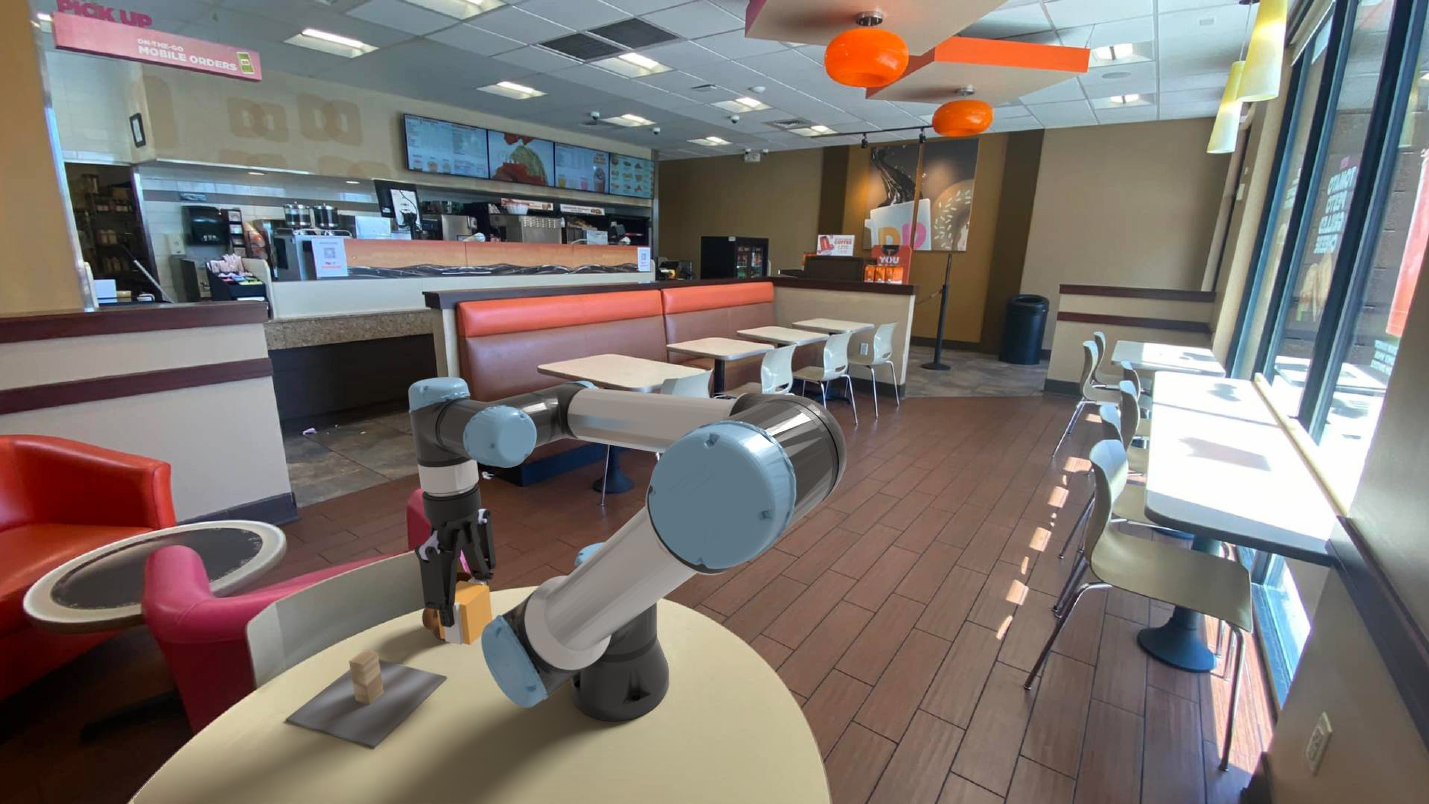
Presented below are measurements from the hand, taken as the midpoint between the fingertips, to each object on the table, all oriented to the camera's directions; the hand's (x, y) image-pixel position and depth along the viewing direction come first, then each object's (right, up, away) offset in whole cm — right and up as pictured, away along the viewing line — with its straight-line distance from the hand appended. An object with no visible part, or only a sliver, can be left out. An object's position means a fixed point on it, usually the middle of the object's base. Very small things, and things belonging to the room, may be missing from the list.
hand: (468, 629), depth 89 cm
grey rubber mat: (-15, -11, 0) cm, 18 cm away
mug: (-9, -7, +15) cm, 19 cm away
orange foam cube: (0, 0, 0) cm, 0 cm away
